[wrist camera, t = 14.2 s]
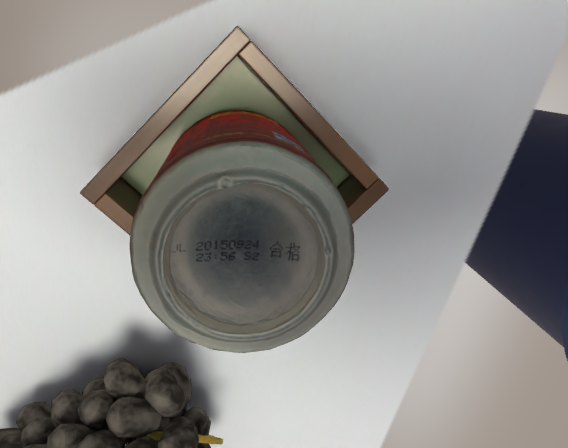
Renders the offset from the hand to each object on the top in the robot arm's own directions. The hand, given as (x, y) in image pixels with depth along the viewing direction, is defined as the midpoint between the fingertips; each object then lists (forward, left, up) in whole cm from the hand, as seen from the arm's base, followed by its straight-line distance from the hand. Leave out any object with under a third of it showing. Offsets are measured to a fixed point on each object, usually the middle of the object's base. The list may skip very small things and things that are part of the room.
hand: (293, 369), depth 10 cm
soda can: (0, +1, -18) cm, 18 cm away
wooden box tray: (0, +1, -19) cm, 19 cm away
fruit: (-4, +17, -19) cm, 26 cm away
